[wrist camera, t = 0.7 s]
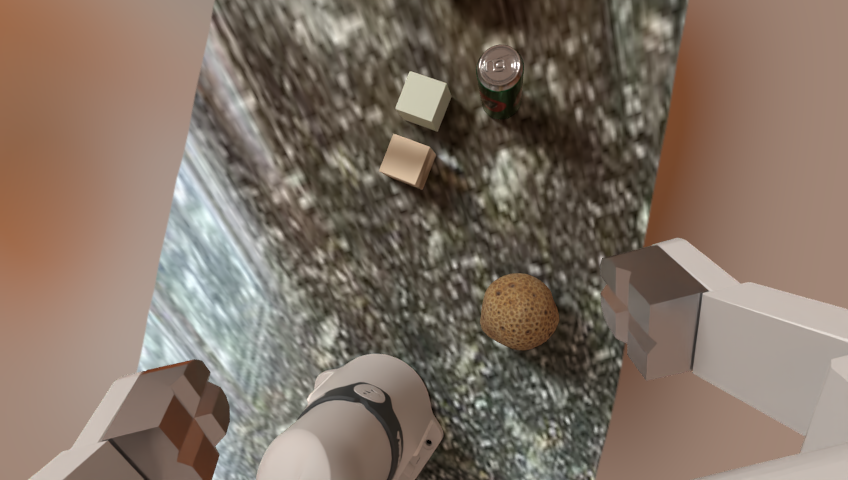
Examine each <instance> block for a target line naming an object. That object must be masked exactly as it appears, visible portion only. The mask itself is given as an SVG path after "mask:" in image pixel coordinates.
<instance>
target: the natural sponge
mask: <svg viewBox="0 0 848 480" xmlns="http://www.w3.org/2000/svg"><path fill="white" fill-rule="evenodd" d="M480 323H481V327H482V329H483V331H484V332H485V334H486V335H488V336H489V337H490V338H492V339H494V340H495V341H497V342H499V343H501V344H503V345H505V346H507V347H510V348H512V349H515V350H529V349H532V348H534V347H537V346H539V345H541V344H543V343H544V342H545V341H547V340H548V339H549V338H550V337H551V335H552V334H553V333H554V331H555V329H556V327H557V325H558V323H559V314H558V310H557V307H556V305H555V303H554V300H553V297H552V294H551V291H550V290H549V288H548V287H547V286H546V285H545V284H544V283H543V282H541V281H540V280H538V279H537V278H535V277H533V276H531V275H528V274H522V273H515V274H509V275H505V276H503V277H501V278H499V279H497V280H495V281H494V282H493V283H492V284H491V285H490V286H489V287H488V289H487V291H486V293H485V296H484V299H483V305H482V311H481V319H480Z"/></svg>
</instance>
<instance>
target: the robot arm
mask: <svg viewBox="0 0 848 480" xmlns="http://www.w3.org/2000/svg"><path fill="white" fill-rule="evenodd" d="M600 276H601V277H602V279H603V280H604V281H605V282H606V284H607V285H606V286H605V288H604V289H603V290H602V292H601V307H602V311H603V314H604V318H605V321H606V323H607V325H608V327H609V329H610V330H611V332H612V333H613V335H614V336H615V338H616V339H619V340H621V341H623V342H625V343H627V344H628V354H627V355H628V356H629V358H630V359H631V360H632V362H633V363H634V364H635V366H636V367H637V369H638V370H639V371H640V373H641V374H642V376H643V377H644V378H645V380H646V381H648V380H652V379H657V378H661V377H666V376H671V375H675V374H680V373H684V372H689V371H693V372H692V373H693V374H695V375H697V376H698V377H700V378H702V379H704V380H706V381H707V382H709V383H711V384H713V385H714V386H716V387H718V388H720V389H722V390H723V391H725V392H727V393H729V394H730V395H732V396H734V397H736V398H737V399H739V400H741V401H743V402H745V403H746V404H748V405H750V406H752V407H753V408H755V409H757V410H759V411H761V412H763V413H764V414H766V415H768V416H770V417H771V418H773V419H775V420H777V421H779V422H780V423H782V424H784V425H785V426H787V427H789V428H791V429H793V430H794V431H796V432H798V433H800V434H801V435H803V436H805V438H804V441H803V444H802V447H801V450H800V452H799V454H796V455H791V456H787V457H783V458H779V459H775V460H771V461H766V462H762V463H758V464H754V465H750V466H746V467H742V468H738V469H733V470H729V471H725V472H721V473H717V474H713V475H709V476H705V477H701V478H696V479H692V480H848V309H845V308H841V307H838V306H834V305H831V304H827V303H823V302H820V301H816V300H813V299H809V298H805V297H801V296H798V295H794V294H791V293H787V292H784V291H780V290H776V289H773V288H770V287H766V286H762V285H759V284H755V283H751V282H747V283H743V284H740V283H739V282H738V281H737V280H735V279H734V278H733V277H731V276H730V275H729V274H728V273H726V272H725V271H724V270H723V269H721V268H720V267H719V266H718V265H716V264H715V263H714V262H712V261H711V260H710V259H709V258H708V257H706V256H705V255H704V254H702V253H701V252H700V251H699V250H697V249H696V248H695V247H694V246H692V245H691V244H690V243H689V242H687V241H686V240H684V239H681V238H675V239H672V240H668V241H665V242H661V243H657V244H654V245H652V246H649V247H645V248H641V249H637V250H633V251H629V252H625V253H621V254H617V255H613V256H609V257H605V258H602V260H601V264H600ZM209 376H210V371H209V370H208V368H207V367H206V366H205V364H204V363H203V361H200V360H195V359H194V360H189V361H185V362H181V363H176V364H172V365H167V366H163V367H158V368H154V369H149V370H146V371H142V372H138V373H134V374H129V375H125V376H122V377H120V378H119V379H117V380H115V381H114V383H113V384H112V386H111V387H110V389H109V390H108V392H107V394H106V395H105V397H104V398H103V400H102V401H101V403H100V404H99V406H98V407H97V409H96V411H95V412H94V414H93V415H92V417H91V419H90V420H89V422H88V423H87V425H86V426H85V428H84V429H83V431H82V432H81V434H80V436H79V437H78V439H77V440H76V442H75V444H74V445H73V446H72V448H71V449H70V450H67V451H63V452H61V453H60V454H59V455H58V456H56V457H55V458H54V459H53V460H51V461H50V462H49V463H48V464H47V465H45V466H44V467H43V468H42V469H41V470H39V471H38V472H37V473H36V474H35V475H33V476H32V477H31V478H30V479H28V480H212V477H213V474H214V471H215V468H216V465H217V461H218V458H219V453H218V451H217V449H216V447H215V446H216V445H217V444H218V443H219V442H220V440H221V439H222V438H223V437H224V436H225V435H226V432H227V429H228V425H229V422H230V410H229V404H228V401H227V397H226V395H225V394H224V392H223V390H222V389H221V387H219V386H216V385H214V384H212V383H210V382H208V380H209ZM307 401H308V406H307V407H306V409H305V410H304V411H303V412H302V414H301V415H300V416H299V418H298V419H297V421H296V422H295V423H294V424H292V425H291V426H290V427H289V428H287V429H286V430H285V431H284V432H283V433H281V434H280V435H279V436H278V437H277V438H275V439H274V440H273V442H272V443H271V444H270V445H269V447H268V448H267V450H266V452H265V454H264V456H263V458H262V460H261V463H260V465H259V468H258V472H257V477H256V480H415V479H416V477H417V476H418V474H419V473H420V471H421V470H422V468H423V467H424V466H425V464H426V463H427V461H428V460H429V458H430V457H431V455H432V454H433V452H434V451H435V449H436V448H437V446H438V445H439V443H440V442H441V440H442V438H443V430H442V427H441V426H440V424H439V422H438V421H437V419H436V418H435V416H434V415H433V412H432V408H431V403H430V398H429V395H428V392H427V389H426V387H425V385H424V383H423V381H422V379H421V378H420V377H419V375H418V374H417V373H416V372H415V371H414V370H413V369H412V368H411V367H410V366H409V365H408V364H406V363H405V362H403V361H401V360H399V359H397V358H395V357H392V356H389V355H384V354H368V355H364V356H361V357H358V358H356V359H354V360H352V361H350V362H349V363H347V364H346V365H345V366H343V367H341V368H339V369H333V370H327V371H324V372H322V373H321V374H320V375H319V376H318V377H317V379H316V382H315V388H314V391H313V392H312V393H311V394H310V395H309V397H308V398H307ZM426 440H431V442H432V443H431V444H428V443H427V442H426Z"/></svg>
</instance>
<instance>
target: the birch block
mask: <svg viewBox="0 0 848 480" xmlns="http://www.w3.org/2000/svg"><path fill="white" fill-rule="evenodd" d="M435 157H436V154H435V153H434V152H433V150H432V149H431V148H430V147H428V146H426V145H423V144H420V143H418V142H415V141H412V140H409V139H407V138H404V137H401V136H399V135H396V134H393V137H392V139H391V142H390V144H389V147H388V149H387V152H386V155H385V157H384V160H383V162H382V165H381V167H380V170H379V171H380V172H382V173H383V174H385V175H387V176H388V177H391V178H393V179H396V180H398V181H401V182H403V183H406V184H409V185H411V186H414V187H416V188H419V189H421V190H423V187H424V185H425V182H426V180H427V177H428V175H429V172H430V170H431V167H432V165H433V162H434V160H435Z"/></svg>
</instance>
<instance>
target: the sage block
mask: <svg viewBox="0 0 848 480" xmlns="http://www.w3.org/2000/svg"><path fill="white" fill-rule="evenodd" d="M450 99H451V94H450V91H449V89H448V86H447V83H444V82H441V81H438V80H435V79H432V78H429V77H426V76H423V75H420V74H417V73H414V72H411V71H410V72H409V74H408V77H407V80H406V82H405V85H404V87H403V90H402V93H401V95H400V98H399V100H398V103H397V105H396V108H395V109H396V110H397V112H398V113H399V114H400V115H401V116H402V118H403V119H404V120H406V121H409V122H412V123H415V124H417V125H420V126H423V127H426V128H428V129H431V130H434V131H437V132H438V130H439V127H440V125H441V122H442V120H443V117H444V115H445V112H446V109H447V107H448V104H449V102H450Z"/></svg>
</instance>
